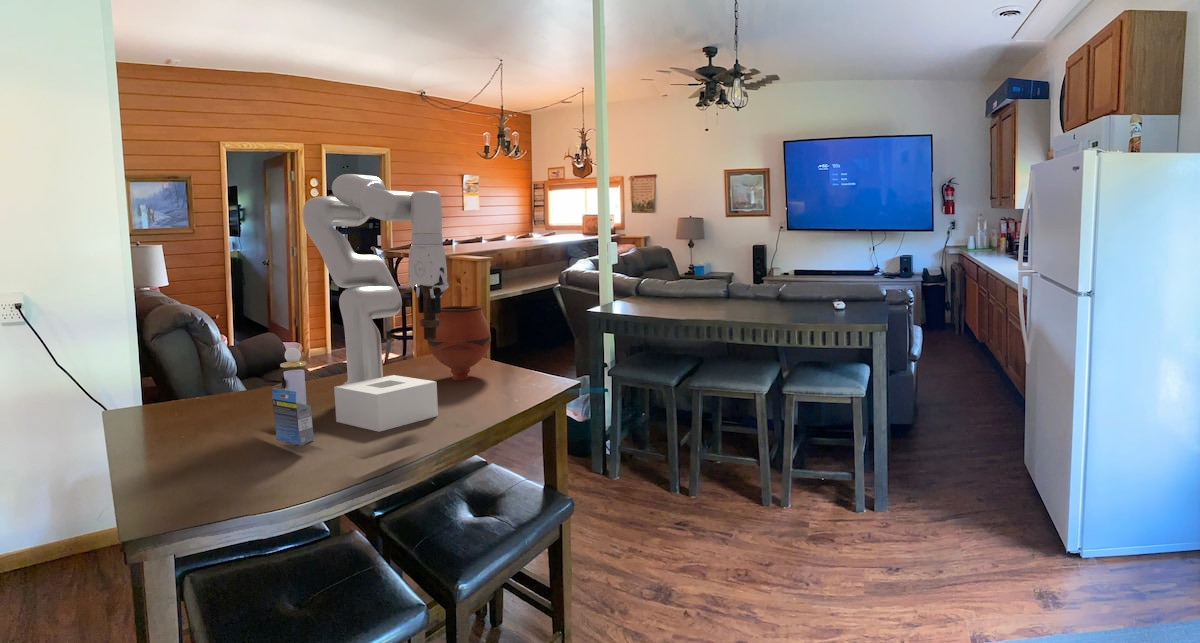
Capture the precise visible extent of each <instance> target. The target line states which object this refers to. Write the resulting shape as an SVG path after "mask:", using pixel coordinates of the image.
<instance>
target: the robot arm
mask: <svg viewBox="0 0 1200 643" xmlns="http://www.w3.org/2000/svg"><path fill="white" fill-rule="evenodd" d="M331 191H332V194H333V196H331V195H330V196H328V195H327V196H326V195H324V196H322V195H321V196H315V197H311V198H310V199H308V200H307V201H306V202H305V203H304V204H303V208H302V222H303V225H304V229H305V231H306V234H307V235H308V236H309V238H310V240H311V241H312V243H313V244H314V245H315V247H316V248H317V250H318V251H319V253H320V255H321V257H322V260H323V262H324V264H325V266H326V268H327V271H328V273H329V274H330V277H331V279H332V280H333V281H332V282H334V284H335V285H336V286H337V287H339V288H344V290H343V291H342V293H340V296H339V300H338V305H339V306H338V307H339V310H340V314H341V318H342V324H343V329H344V337H345V338H344V341H345V353H346V354H345V355H346V368H347V369H346V371H347V380H346V381H345V382H344V383H343V384H342V385H346V384H351V383H356V382H361V381H366V380H371V379H376V378H381V377H384V372H383V370H384V369H383V357H382V356H383V355H382V354H383V353H382V338H381V337H382V336H381V333H380V330H379V328H378V326H377V324H376V323H375V322H374V320H373V319H382V318H389V317H394V316H396V315H398V314H399V313H400V311H401V309H402V306H403V301H402V295H401V293H400V291H399V288H398V286H397V283H396V282H395V280H394V278H393V276H392V274H391V272H390V270H389V267H388V266H387V264H386V262H385V261H384V260H383V259H382V258H381V257H379V256H377V254H376V255H375V254H366V253H365V254H359V253H356V252H355V251H354V249H353V248H352V245H351V243H350V242H349V240H348V239H347V238H346V236H345V235H344V234H342V232H340V231H339V230H337V229H336V228H335V227H359V226H361V225H363V224H365V223H366V222H367V221H368V220H369V219H370V218H372V219H378V220H381V221H385V222H386V221H387V222H411V223H410V225H411V226H410V227H411V244H412V245H411V246H410V247H409V252H408V253H409V254H408V259H407V260H408V264H407V280H408V285H409V287H410V288H411V289H413V292H414V293H415V296H416V298H417V303H418V304H417V308H418V310H417V311H418V313H419V314H424V313H423V311H424V308H423V306H424V304H423V301H424V300H423V297H424V296H423V289H421V288H418V286H420V285H423V286H432V289H430V294H431V298H429V311H430V314H437V313H440V312H441V307H442V306H441V298H442V297H443V293H444V292H445V291H446V290H447V289H449V287H450V286H449V283H448V272H447V271H448V269H447V258H446V253H445V247H444V245H443V218H442V215H443V213H442V196H441V194H440V193H439V192H437V191H431V190H418V191H417V190H416V191H402V190H401V191H400V190H388V189H387V188H386V186H385V183H384V181H383V180H382V179H381V178H379V177H377V176H375V175H367V174H356V173H345V174H341V175H339V176H337V177H336V178H334V180H333V182H332V184H331ZM437 283H439V285H435V284H437ZM435 288H437V289H436V290H435Z"/></svg>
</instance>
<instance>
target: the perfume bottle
mask: <svg viewBox="0 0 1200 643" xmlns="http://www.w3.org/2000/svg"><path fill="white" fill-rule="evenodd" d="M301 357H302V352H301V351H300V349H299V348H298V347H294V346H292V347H288V348H287V349H286V350H285V352H284V359H285V360H286V362H282V363H280V364H279V365H280V366H279V367H280V368H284V369H285V368H288V370H285V371H283V374H282V377H281V378H280V380H281V389H283V390H288V391H296V402H297V403H301V404H306V405H307V392H306V391H307V390H306V379H305V378H306V375H305V370H304V369H290V370H289V368H300V367H304V366H307V361H304V360H303V361H301V360H300V359H301ZM284 395H285V394H284ZM284 398H288V396H287V395H285V397H284Z"/></svg>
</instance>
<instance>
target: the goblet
mask: <svg viewBox="0 0 1200 643" xmlns="http://www.w3.org/2000/svg"><path fill="white" fill-rule="evenodd" d="M440 307H441V312H440V313H437V314H436V318H437V319H439V326H438V327H436V339H435V340H433V341H432V340H426V342H427V347H428V350H429V352H430V353H431V355H432V356H433V357H434V358H435V359H436V360H437V361H438V362H440V363H441V364H442V365H444V366H446V367H448V368H450V373H452V377H451V380H454V381H463V380H467V379H468V378H470V376H469V373H470V372H471V368H472V367H474V366H475V365H476V364H478V363H479V362H480V361H481V360H483V358H484V357H485V355H486V354H487V353H488V351H489V349H490V346H491V344H492V335H491V331H490V326H489V324H488V321H487V319H486V317H485V315H484V312H483V310H482V305H466V306H465V305H463V306H462V305H451V306H440Z"/></svg>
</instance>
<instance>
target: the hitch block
mask: <svg viewBox="0 0 1200 643" xmlns="http://www.w3.org/2000/svg"><path fill="white" fill-rule="evenodd" d="M437 386H438V385H437V381H434V380H429V379H428V380H427V379H421V378H414V377H409V376H402V375H395V374H392V375H386V376H383V377H381V378H376V379H371V380H366V381H361V382H356V383H351V384H346V385H343V384H341V385H337V386H334V387H333V388H334V405H335V406H334V407H335V421H336V423H339V424H344V425H349V426H353V427H357V428H361V429H365V430H370V431H375V432H377V433H378V432H383V431H386V430H388V431H389V430H391V429H394V428H398V427H402V426H405V425H409V424H413V423H417V422H421V421H424V420H428V419H432V418H434V417H435V418H436V417H438V416H439V410H438V409H439V404H438V402H439V401H438V387H437Z"/></svg>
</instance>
